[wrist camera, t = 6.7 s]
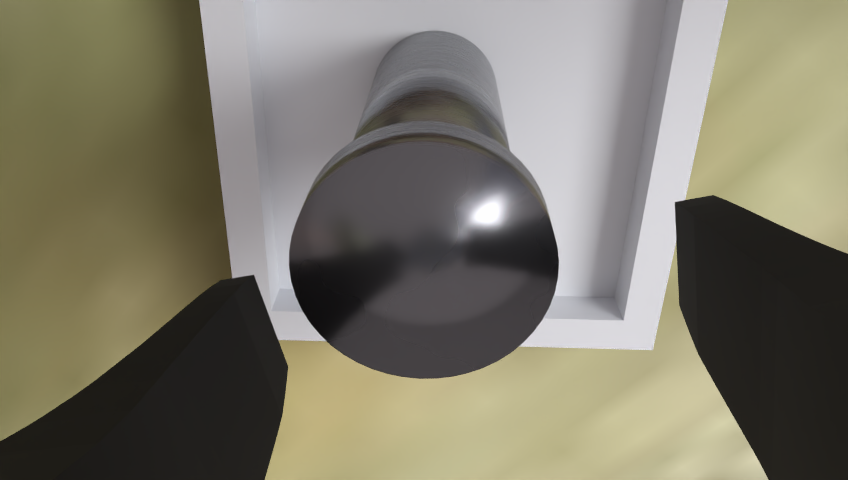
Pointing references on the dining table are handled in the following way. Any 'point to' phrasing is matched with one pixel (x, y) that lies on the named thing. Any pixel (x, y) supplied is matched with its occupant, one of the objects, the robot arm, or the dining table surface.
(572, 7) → the tray
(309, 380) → the dining table surface
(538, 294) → the pin
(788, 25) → the dining table surface
